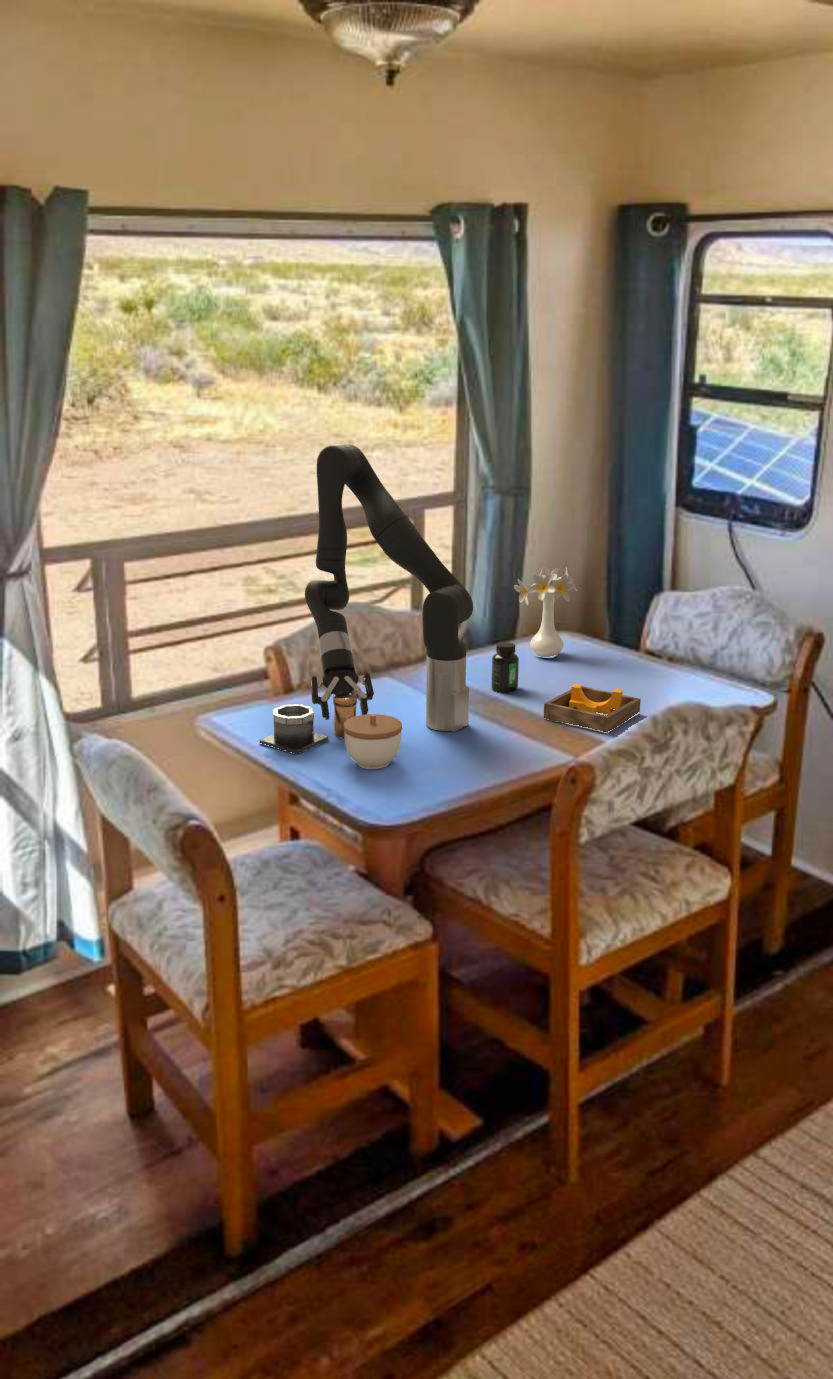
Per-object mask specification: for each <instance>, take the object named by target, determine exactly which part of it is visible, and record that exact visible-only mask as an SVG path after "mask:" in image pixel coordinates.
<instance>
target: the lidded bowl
mask: <svg viewBox="0 0 833 1379" xmlns="http://www.w3.org/2000/svg"><path fill="white" fill-rule="evenodd" d="M402 730H403V723H402V721H401V720H400V719H398V718H396V717H394V716H391V715H386V714H380V713H378V714H376V713H373V714H372V713H370V714H369V713H367V714H366V715H362V714H360V715H356V716H355V717H352V718H350V719H348V720H346V721H345V723H344V736H345V738H344V745H345V749H346V751H347V754H348V755H349V757H350V758H351V759H352V760H353V762H355V763H356V765H357V766H358V767H360V768H362V769H367V770H379V769H383V768H387V767H388V766H389V765H390V764H391V762H392V761H393V760H394V759H395V758H396V757H397V755H398V753H399V751H400V748H401V742H402Z"/></svg>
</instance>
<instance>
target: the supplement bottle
mask: <svg viewBox="0 0 833 1379" xmlns="http://www.w3.org/2000/svg"><path fill="white" fill-rule="evenodd" d="M495 647H496V648H495V652H496V653H495V654H493V656H492V659H491V686H490V687H491V689H492V691H494V692H496V691H497V692H496V693H499V692H501V694H510V693H509V692H512V693H514V691H515V692H516V691H517V690H518V688H519V673H520V672H519V668H520V667H519V664H520V663H519V662H520V660H519V659H520V658H519V656H518V654H516V644H515V643H514V642H510V641H509V642H508V641H501V642H498V643H496V645H495Z"/></svg>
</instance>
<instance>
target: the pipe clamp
mask: <svg viewBox="0 0 833 1379" xmlns="http://www.w3.org/2000/svg"><path fill="white" fill-rule="evenodd" d="M582 686H583V685H582V684H580V683H578V684H577V683H573V685H571V689H570V690H571V700H570V701H569V708H574V709H578V710H582V711H587V712H591V713H595V714H596V712H598V713H603V714H610V713H612V712H614V711H615V710H617V709H619V708H621V707H622V695H623V692H624V690H623V689H622V688H621V689H620V688H614V689H613V690H612V696H611V698H610V699H609V700H607V701H605V702H600V703H598V702H593V701H591V700H589V699H588V698H587V697H586V696H585V695H584V693H583V691H582ZM613 709H615V710H613Z"/></svg>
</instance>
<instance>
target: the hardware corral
mask: <svg viewBox="0 0 833 1379" xmlns="http://www.w3.org/2000/svg"><path fill="white" fill-rule="evenodd" d="M582 691H583V693H584V695H585V696H586V697H587V698H588V699H589V700H591V701H593V702H598V703H600V702H605V701H607V700H609V699H610V698H611V696H612V693H613V691H612V692H610V691H606V690H602V689H599V688H598V689H597V688H592V687H586V686H583V685H582ZM641 699H642V698H638V697H635V696H629V695H624V694H622V707H621V708H619V709H617V710H614V712H612V713H610V714H608V715H607V716H604V715H600V714H595V713H591V712H587V711H582V710H578V709H574V708H569V701H570V700H571V689H569V690H567V691H565V692H563V693H561V694H560V695H557V696H555V697H553V698H551V699H549V700H548V701H546V702H545V703H543V704H544V705H543V718H546V719H549V720H552V721H551V722H554V721H558V722H561V723H560V724H562V722H563V723H569V724H573V725H579V726H582V727H588V728H592V729H595V730H600V731H603V732H608V731H610V730H612V729H614V728H616V727H617V726H619V725H621V724H622V723H624V722H625V721H627V720H628V719H629V718H631V717H632V716H634V715H635V714H637V713H638V712H640V713H641V703H642V702H641ZM549 720H548V721H549ZM558 722H557V723H558ZM624 724H625V723H624ZM621 726H622V725H621ZM616 729H617V728H616Z"/></svg>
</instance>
